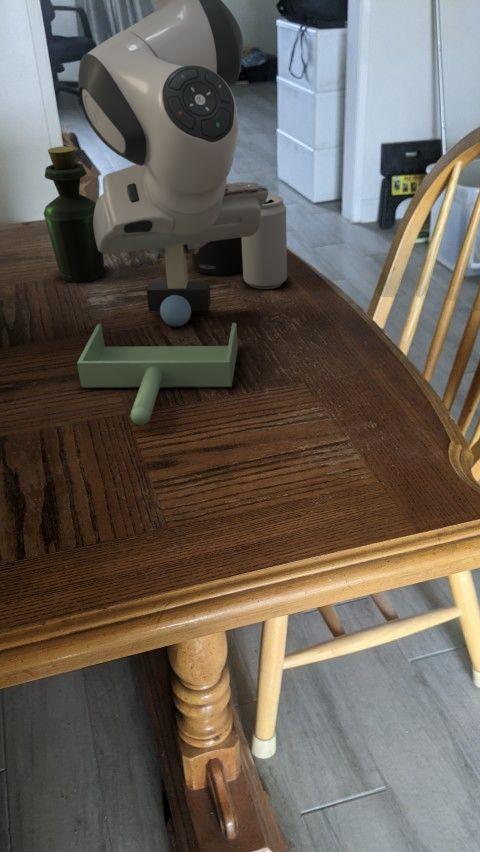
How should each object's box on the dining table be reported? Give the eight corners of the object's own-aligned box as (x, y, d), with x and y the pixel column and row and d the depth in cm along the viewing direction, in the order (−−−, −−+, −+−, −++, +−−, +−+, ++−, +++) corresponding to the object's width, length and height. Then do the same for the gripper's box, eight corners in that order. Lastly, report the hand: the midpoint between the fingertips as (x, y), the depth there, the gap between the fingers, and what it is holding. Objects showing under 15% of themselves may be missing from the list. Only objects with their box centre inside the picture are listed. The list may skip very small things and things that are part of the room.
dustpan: (101, 349, 97) (97, 324, 95) (237, 348, 96) (236, 322, 94) (59, 436, 80) (52, 407, 78) (223, 436, 79) (221, 407, 78)
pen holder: (182, 262, 122) (176, 197, 116) (236, 252, 125) (233, 188, 120) (205, 281, 115) (200, 213, 109) (262, 270, 118) (260, 203, 113)
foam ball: (163, 330, 103) (157, 322, 99) (163, 300, 104) (157, 291, 100) (193, 329, 103) (188, 322, 99) (193, 299, 103) (188, 291, 99)
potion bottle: (110, 264, 122) (93, 141, 112) (108, 282, 116) (89, 154, 105) (58, 267, 122) (35, 144, 111) (52, 286, 115) (27, 157, 105)
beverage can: (258, 294, 111) (255, 208, 104) (235, 280, 115) (231, 197, 108) (295, 284, 113) (295, 200, 106) (272, 271, 118) (270, 189, 111)
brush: (148, 311, 104) (137, 212, 96) (152, 302, 106) (141, 205, 99) (208, 311, 104) (201, 211, 96) (210, 302, 106) (204, 204, 99)
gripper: (265, 158, 91) (245, 219, 104) (88, 176, 86) (91, 238, 99) (277, 207, 90) (256, 263, 103) (100, 228, 85) (101, 284, 98)
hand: (173, 251), depth 101 cm, fingers closed on brush, 3 cm apart
